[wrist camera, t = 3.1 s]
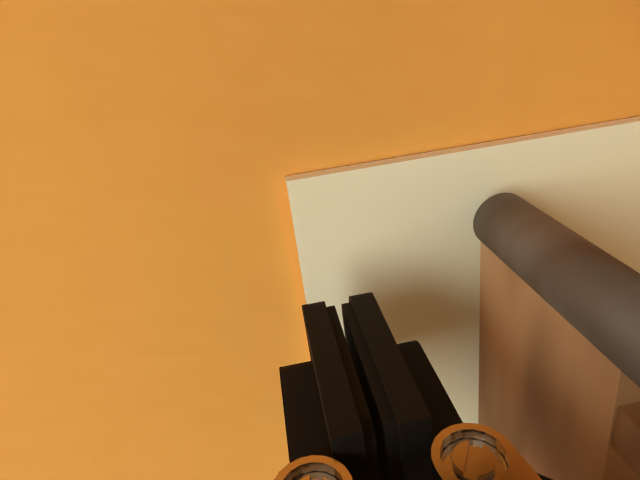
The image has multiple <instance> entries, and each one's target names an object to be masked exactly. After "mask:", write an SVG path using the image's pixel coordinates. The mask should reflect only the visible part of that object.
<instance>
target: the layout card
mask: <svg viewBox="0 0 640 480" xmlns="http://www.w3.org/2000/svg"><path fill="white" fill-rule="evenodd" d="M285 178H286V184H287V190H288V196H289V202H290V208H291V214H292V220H293V226H294V232H295V238H296V244H297V250H298V256H299V262H300V268H301V274H302V280H303V286H304V292H305V298H306V304H311V303H316V302H322V301H325V304H326V307H328V306H335V308H336V311H337V314H338V317H339V320H340V323H341V326H342V329H343V332H344V324H343V316H342V308H341V304H344V303H349V296H353V295H358V294H364V293H369V292H372V293H373V295H374V297H375V299H376V301H377V303H378V305H379V307H380V309H381V312H382V314H383V316H384V318H385V320H386V322H387V324H388V326H389V328H390V330H391V333H392V335H393V337H394V339H395V341H396V343H397V344H399V343H404V342H409V341H414V340H417V341H418V342H419V343H420V345H421V346H422V348H423V350H424V352H425V354H426V356H427V357H428V359H429V361H430V363H431V365H432V367H433V368H434V370H435V372H436V374H437V376H438V378H439V379H440V381H441V383H442V385H443V387H444V389H445V390H446V392H447V394H448V396H449V398H450V400H451V402H452V403H453V405H454V407H455V409H456V411H457V413H458V414H459V416H460V418H461V420H462V422H463V423H477V424H478V403H479V325H480V248H481V241H480V240H479V239H478V238H477V237H476V235H475V233H474V229H473V220H474V216H475V213H476V211H477V210H478V208H479V207H480V205H481V204H482V203H483V202H484V201H485V200H487V199H488V198H489V197H491V196H493V195H495V194H499V193H504V192H506V193H513V194H516V195H518V196H519V197H521V198H522V199H524V200H526V201H527V202H529V203H530V204H532V205H533V206H535V207H536V208H538V209H540V210H541V211H543V212H544V213H546V214H547V215H549V216H551V217H552V218H554V219H555V220H557V221H558V222H560V223H562V224H563V225H565V226H566V227H568V228H569V229H571V230H573V231H574V232H576V233H577V234H579V235H580V236H582V237H584V238H585V239H587V240H588V241H590V242H591V243H593V244H594V245H596V246H598V247H599V248H601V249H602V250H604V251H605V252H607V253H609V254H610V255H612V256H613V257H615V258H616V259H618V260H620V261H621V262H623V263H624V264H626V265H627V266H629V267H631V268H632V269H634V270H635V271H637V272H638V273H640V116H637V117H631V118H626V119H620V120H614V121H608V122H602V123H596V124H590V125H584V126H579V127H573V128H567V129H561V130H555V131H549V132H543V133H537V134H531V135H526V136H520V137H514V138H508V139H502V140H496V141H490V142H484V143H479V144H473V145H467V146H461V147H455V148H449V149H443V150H437V151H431V152H426V153H420V154H414V155H408V156H402V157H396V158H390V159H384V160H379V161H373V162H367V163H361V164H355V165H349V166H343V167H337V168H331V169H326V170H320V171H314V172H308V173H302V174H296V175H290V176H285ZM344 336H345V332H344Z"/></svg>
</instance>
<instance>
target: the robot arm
mask: <svg viewBox="0 0 640 480" xmlns="http://www.w3.org/2000/svg"><path fill="white" fill-rule="evenodd" d="M341 308H342V316H343V324H344V332H345V336H344V332H343V329H342V326H341V323H340V320H339V317H338V314H337V311H336V308H335V306H328V307H326V304H325V301H322V302H316V303H311V304H306V305H302V310H303V316H304V322H305V327H306V333H307V339H308V345H309V351H310V357H311V361H309V362H304V363H299V364H294V365H289V366H284V367H280V368H279V370H280V380H281V389H282V398H283V407H284V416H285V425H286V434H287V442H288V451H289V460H290V463H289V464H288V465H287V466H285V467H284V468H283V469H282V470H281V471H280V472H279V473H278V475H277V476H276V478H275V479H274V480H553V479H550V478H548V477H545V476H543V475H541V474H538V473H536V472H535V471H534V470H533V468H532V467H531V466H530V465H529V464H528V463H527V461H526V460H525V459H524V458H523V457H522V455H521V454H520V453H519V452H518V451H517V450H516V448H515V447H514V446H513V445H512V444H511V442H510V441H509V440H507V439H506V438H505V437H504V436H503V435H502V434H501V433H499V432H498V431H496V430H494V429H492V428H490V427H488V426H484V425H480V424H477V423H463V422H462V420H461V418H460V416H459V414H458V413H457V411H456V409H455V407H454V405H453V403H452V402H451V400H450V398H449V396H448V394H447V392H446V390H445V389H444V387H443V385H442V383H441V381H440V379H439V378H438V376H437V374H436V372H435V370H434V368H433V367H432V365H431V363H430V361H429V359H428V357H427V356H426V354H425V352H424V350H423V348H422V346H421V345H420V343H419V342H418V341H417V340H414V341H409V342H404V343H399V344H397V343H396V341H395V339H394V337H393V335H392V333H391V330H390V328H389V326H388V324H387V322H386V320H385V318H384V316H383V314H382V312H381V309H380V307H379V305H378V303H377V301H376V299H375V297H374V295H373V293H372V292H369V293H364V294H358V295H353V296H349V303H344V304H341Z"/></svg>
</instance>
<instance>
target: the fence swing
mask: <svg viewBox="0 0 640 480" xmlns="http://www.w3.org/2000/svg"><path fill="white" fill-rule="evenodd" d="M473 229H474V233H475V235H476V237H477V238H478V239H479V240H480V241H481V248H480V325H479V403H478V424H480V425H484V426H488V427H490V428H492V429H494V430H496V431H498V432H499V433H501V434H502V435H503V436H504V437H505V438H506V439H507V440H509V441H510V442H511V444H512V445H513V446H514V447H515V448H516V450H517V451H518V452H519V453H520V454H521V455H522V457H523V458H524V459H525V460H526V461H527V463H528V464H529V465H530V466H531V467H532V468H533V470H534V471H535V472H536V473H538V474H541V475H543V476H545V477H548V478H550V479H553V480H640V273H638V272H637V271H635V270H634V269H632V268H631V267H629V266H627V265H626V264H624V263H623V262H621V261H620V260H618V259H616V258H615V257H613V256H612V255H610V254H609V253H607V252H605V251H604V250H602V249H601V248H599V247H598V246H596V245H594V244H593V243H591V242H590V241H588V240H587V239H585V238H584V237H582V236H580V235H579V234H577V233H576V232H574V231H573V230H571V229H569V228H568V227H566V226H565V225H563V224H562V223H560V222H558V221H557V220H555V219H554V218H552V217H551V216H549V215H547V214H546V213H544V212H543V211H541V210H540V209H538V208H536V207H535V206H533V205H532V204H530V203H529V202H527V201H526V200H524V199H522V198H521V197H519V196H518V195H516V194H513V193H506V192H504V193H499V194H495V195H493V196H491V197H489V198H488V199H487V200H485V201H484V202H483V203H482V204H481V205H480V207H479V208H478V210H477V211H476V213H475V216H474V220H473Z"/></svg>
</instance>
